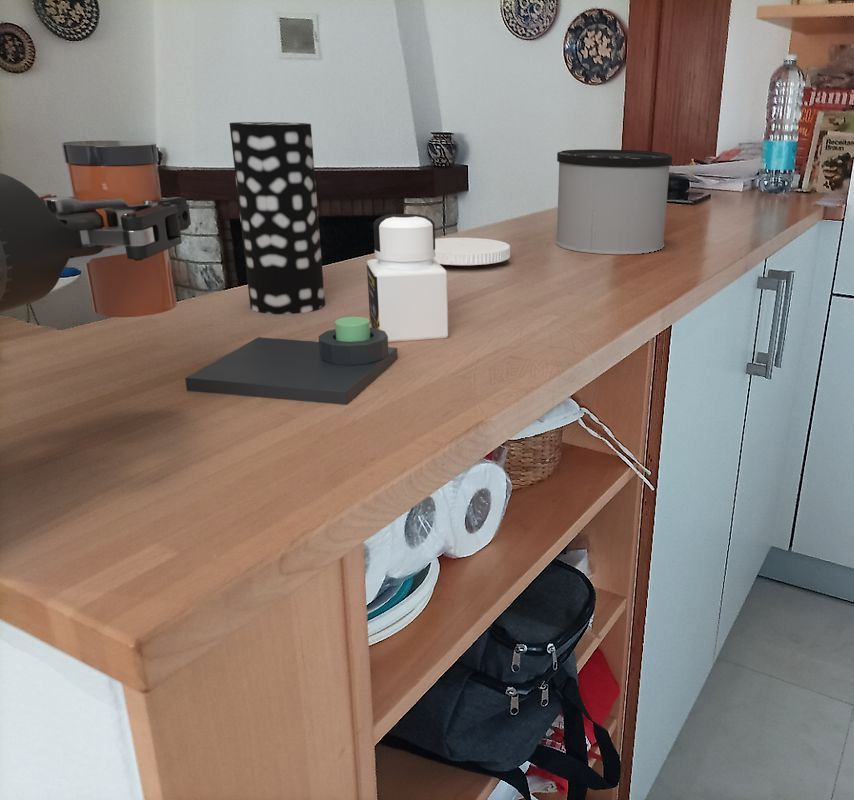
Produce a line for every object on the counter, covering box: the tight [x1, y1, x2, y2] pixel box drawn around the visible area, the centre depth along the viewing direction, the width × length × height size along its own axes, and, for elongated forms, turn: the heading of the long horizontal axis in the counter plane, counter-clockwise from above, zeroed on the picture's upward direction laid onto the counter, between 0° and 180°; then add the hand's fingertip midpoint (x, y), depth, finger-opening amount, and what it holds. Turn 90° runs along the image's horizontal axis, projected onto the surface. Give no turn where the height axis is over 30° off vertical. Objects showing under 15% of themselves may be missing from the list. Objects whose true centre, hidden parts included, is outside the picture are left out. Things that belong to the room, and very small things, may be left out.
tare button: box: [334, 316, 371, 342], centre depth 70 cm, size 3×3×2 cm
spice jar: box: [60, 140, 178, 318], centre depth 54 cm, size 6×6×11 cm
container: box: [555, 148, 674, 256], centre depth 131 cm, size 19×19×15 cm
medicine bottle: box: [366, 213, 449, 343], centre depth 80 cm, size 7×7×12 cm
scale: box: [184, 327, 399, 406], centre depth 68 cm, size 14×12×3 cm
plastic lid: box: [434, 237, 511, 266], centre depth 116 cm, size 14×14×2 cm
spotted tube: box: [229, 121, 326, 315], centre depth 87 cm, size 8×8×20 cm
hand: (144, 210), depth 56 cm, fingers closed on spice jar, 5 cm apart
